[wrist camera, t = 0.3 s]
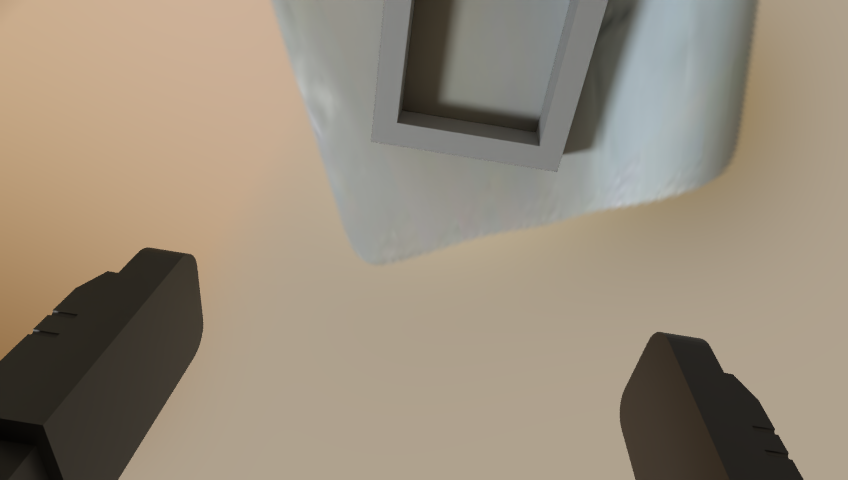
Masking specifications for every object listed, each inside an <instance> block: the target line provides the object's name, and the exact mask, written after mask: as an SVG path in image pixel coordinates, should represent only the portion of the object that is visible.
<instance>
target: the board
mask: <svg viewBox="0 0 848 480" xmlns="http://www.w3.org/2000/svg"><path fill="white" fill-rule="evenodd" d="M607 2H608V0H571V1H570V5H569V8H568V12H567V16H566V20H565V24H564V27H563V31H562V35H561V39H560V43H559V47H558V50H557V54H556V58H555V62H554V66H553V69H552V73H551V77H550V81H549V85H548V88H547V92H546V96H545V100H544V104H543V108H542V111H541V115H540V119H539V123H538V127H537V130H536V132H530V131H524V130H518V129H512V128H506V127H500V126H494V125H488V124H482V123H475V122H469V121H463V120H457V119H451V118H445V117H439V116H433V115H427V114H420V113H414V112H408V111H402V103H403V95H404V86H405V78H406V70H407V62H408V53H409V45H410V37H411V29H412V20H413V12H414V4H415V0H384V7H383V18H382V29H381V39H380V50H379V61H378V72H377V82H376V93H375V104H374V114H373V125H372V136H371V142H376V143H382V144H388V145H394V146H400V147H407V148H413V149H419V150H425V151H431V152H437V153H443V154H449V155H456V156H462V157H468V158H474V159H480V160H486V161H492V162H498V163H505V164H511V165H517V166H523V167H529V168H535V169H541V170H547V171H554V172H557V171H558V168H559V164H560V161H561V158H562V154H563V151H564V148H565V144H566V141H567V137H568V134H569V131H570V127H571V124H572V121H573V117H574V114H575V110H576V107H577V104H578V100H579V97H580V94H581V90H582V87H583V83H584V80H585V77H586V73H587V70H588V67H589V63H590V60H591V56H592V53H593V50H594V46H595V43H596V40H597V36H598V33H599V29H600V26H601V23H602V19H603V16H604V13H605V9H606V6H607Z"/></svg>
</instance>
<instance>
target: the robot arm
mask: <svg viewBox="0 0 848 480" xmlns="http://www.w3.org/2000/svg"><path fill="white" fill-rule="evenodd" d="M202 332H203V315H202V306H201V298H200V288H199V279H198V271H197V263H196V260H195V258H194V256H193V255H191V254H185V253H179V252H173V251H167V250H160V249H155V248H144V249H142V250H140V251H139V253H137V254H136V255H135V256H134V257H133V258H132V259H131V260H130V261H129V262H128V263H127V265H126V266H125V267H124V268H123V269H122V270H121V271H120V272H119V273H115V272H109V271H107V272H105V273H104V274H102V275H100V276H98V277H96V278H94V279H92V280H90V281H88V282H87V283H85V284H83V285H81V286H79V287H77V288H75V289H74V290H73V291H72V292H71V293H70V294H69V295H68V296H67V297H66V298H65V299H64V300H63V301H62V302H61V303H60V304H59V305H58V306H57V307H56V308H55V309H54V310H53V313H52V315H47V316H46V317H45V318H44V319H43V320H42V321H41V322H40V323H39V324H38V325H37V326H36V327H35V328H34V329H33V333H32V334H31V335H29V334H28V335H27V336H26V337H25V338H24V339H23V340H22V341H20V342H19V343H18V344H17V345H16V346H15V347H14V348H13V349H12V350H11V351H10V352H9V353H8V354H7V355H6V356H5V357H4V358H3V359H2V360H1V361H0V480H118V479H119V477H120V476H121V474H122V472H123V471H124V469H125V468H126V466H127V464H128V463H129V461H130V460H131V458H132V456H133V455H134V453H135V451H136V450H137V448H138V447H139V445H140V443H141V442H142V440H143V439H144V437H145V435H146V434H147V432H148V431H149V429H150V427H151V426H152V424H153V423H154V421H155V419H156V418H157V416H158V414H159V413H160V411H161V410H162V408H163V406H164V405H165V403H166V401H167V400H168V398H169V397H170V395H171V394H172V392H173V390H174V389H175V387H176V385H177V384H178V382H179V381H180V379H181V377H182V375H183V374H184V373H185V371H186V369H187V368H188V366H189V365H190V363H191V361H192V360H193V358H194V356H195V354H196V352H197V350H198V347H199V345H200V341H201V337H202ZM620 423H621V428H622V432H623V436H624V439H625V443H626V446H627V450H628V454H629V457H630V461H631V465H632V468H633V472H634V476H635V479H636V480H803V478H802V476H801V474H800V473H799V471H798V469H797V467H796V466H795V464H794V462H793V460H790V459H788V451H787V450H786V448H785V446H784V445H783V443H782V441H781V439H780V437H779V436H778V435H775V433H774V430H775V428H774V427H773V425H772V423H771V421H770V420H769V418H768V416H767V414H766V413H765V411H764V409H763V407H762V406H761V404H760V402H759V400H758V399H757V398H756V397H755V396H754V395H753V394H752V393H751V392H750V391H749V390H748V389H747V388H746V387H745V386H744V385H743V384H742V383H741V382H740V381H739V380H738V379H737V378H736V377H735V376H734V375H733V374H728V373H724V372H723V370H722V368H721V366H720V364H719V362H718V361H717V359H716V357H715V355H714V353H713V351H712V349H711V347H710V346H709V344H708V343H707V342H706V341H705V340H703V339H700V338H693V337H687V336H681V335H675V334H669V333H663V332H657V333H655V334H653V335H652V337H651V338H650V340H649V342H648V343H647V345H646V347H645V349H644V351H643V354H642V355H641V357H640V359H639V362H638V363H637V365H636V368H635V369H634V371H633V373H632V375H631V377H630V379H629V382H628V383H627V386H626V388H625V390H624V392H623V395H622V399H621V405H620Z"/></svg>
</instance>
